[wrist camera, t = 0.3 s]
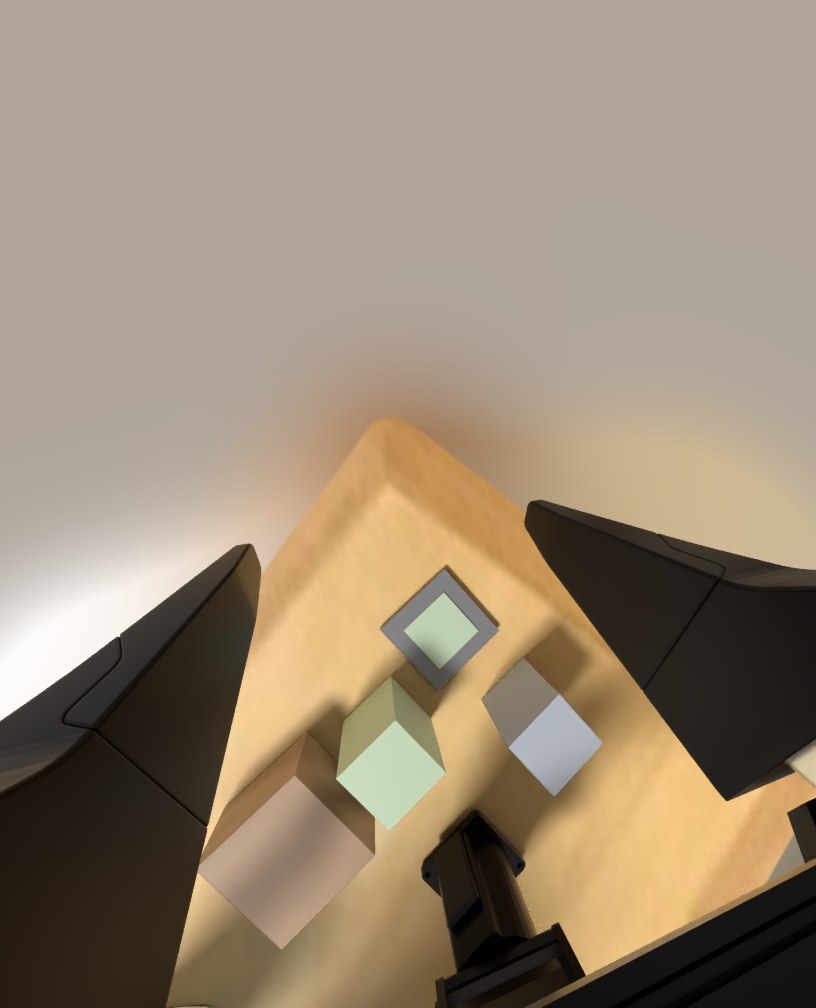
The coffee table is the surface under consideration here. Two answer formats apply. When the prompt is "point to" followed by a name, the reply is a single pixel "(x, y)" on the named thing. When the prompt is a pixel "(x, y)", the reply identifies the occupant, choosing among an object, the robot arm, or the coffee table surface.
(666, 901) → the coffee table surface
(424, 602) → the card
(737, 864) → the coffee table surface
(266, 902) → the walnut block
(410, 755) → the green cube
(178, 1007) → the syrup box
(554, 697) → the slate cube
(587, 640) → the coffee table surface
